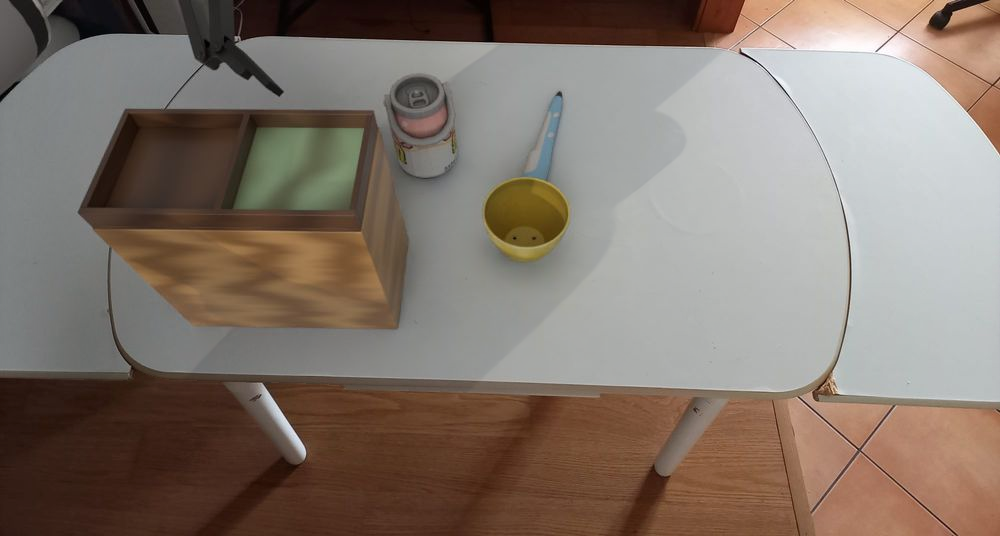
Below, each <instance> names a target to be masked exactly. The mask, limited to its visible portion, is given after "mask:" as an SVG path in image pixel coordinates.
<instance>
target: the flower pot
mask: <svg viewBox="0 0 1000 536" xmlns="http://www.w3.org/2000/svg"><path fill="white" fill-rule="evenodd" d="M571 213H572V212H571V207H570V203H569V201H568V199H567V197H566V196H565V194H564V192H563V191H562V190H561V189H559V188H558V186H556V185H554V184H553V183H552V182H549V181H547V180H546V181H544V180H541V179H538V178H533V177H522V176H520V177H513V178H510V179H507V180H505V181H502V182H500V183H499V184H498V185H497V184H496V186H494V188H492V189H491V190H490V192H489V193H487V196H486V198H485V199H484V202H483V205H482V219H483V224H484V227H485V229H486V232H487V235H488V237H489V238H490V240H491V241H492V243H493V244H494V246H495V247H496V248H497V249H498V250H499V252H501V253H502V254H503V255H504V256H506V257H507V258H509V259H511V260H513V261H515V262H520V263H531V262H535V261H538V260H541V259H542V258H543V257H545V256H546V255H548V254H549V253H551V252H552V251H553V250H554V249H555V248H556V246H557V245H558V244H559V243H560V241H561V240H562V238H563V237H564V235H565V233H566V231H567V229H568V226H569V224H570V221H571ZM514 238H515V239H514ZM533 238H534V239H533Z"/></svg>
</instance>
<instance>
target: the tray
mask: <svg viewBox="0 0 1000 536" xmlns="http://www.w3.org/2000/svg"><path fill="white" fill-rule="evenodd" d="M375 114H376V113H375V111H374V109H261V108H260V109H257V108H255V109H254V108H253V109H251V108H250V109H249V108H248V109H247V108H246V109H243V108H242V109H241V108H235V109H234V108H124V110H123V112H122V114H121V116H120V118H119V121H118V123H117V125H116V127H115V129H114V131H113V133H112V136H111V137H110V140H109V142H108V144H107V146H106V149H105V151H104V153H103V155H102V157H101V160H100V162H99V164H98V166H97V168H96V170H95V173H94V175H93V177H92V179H91V182H90V184H89V186H88V187H87V190H86V192H85V195H84V196H83V199H82V201H81V204H80V206H79V208H78V210H77V214H78V215H79V216H80V217H81V218H82V219H83V220H84V221H85V222H86V223H87V224H88V225H89V226H90V227H91V228H92V229H93V228H94V229H176V230H260V231H344V232H361V228H362V222H363V216H364V210H365V204H366V198H367V192H368V186H369V180H370V174H371V168H372V162H373V156H374V150H375V144H376V138H377V132H378V128H379V126H378V125H379V124H378V122H377V118H376V115H375Z"/></svg>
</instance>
